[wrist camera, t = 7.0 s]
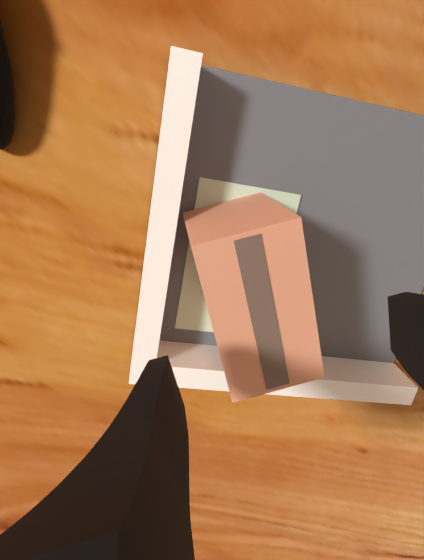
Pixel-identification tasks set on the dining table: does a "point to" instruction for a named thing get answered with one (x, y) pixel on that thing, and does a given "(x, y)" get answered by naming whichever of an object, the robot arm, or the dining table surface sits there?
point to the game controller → (6, 95)
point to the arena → (299, 199)
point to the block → (257, 293)
